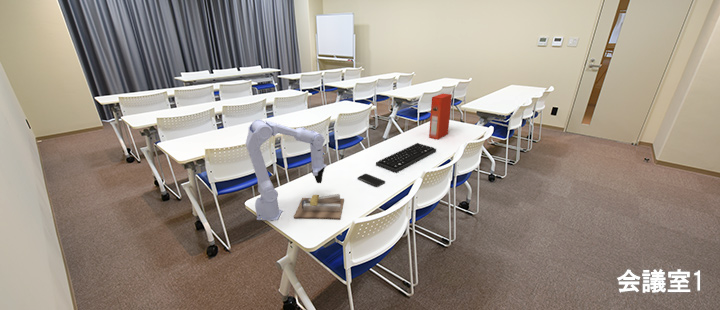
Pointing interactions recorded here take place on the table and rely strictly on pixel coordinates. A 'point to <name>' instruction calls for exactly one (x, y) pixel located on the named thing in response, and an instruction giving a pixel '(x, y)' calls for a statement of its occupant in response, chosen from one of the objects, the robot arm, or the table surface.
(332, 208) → the fixed tong arm
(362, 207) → the table surface
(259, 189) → the robot arm
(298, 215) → the walnut board
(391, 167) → the computer keyboard
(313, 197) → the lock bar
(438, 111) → the file binder
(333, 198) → the bar
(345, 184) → the table surface
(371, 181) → the phone
